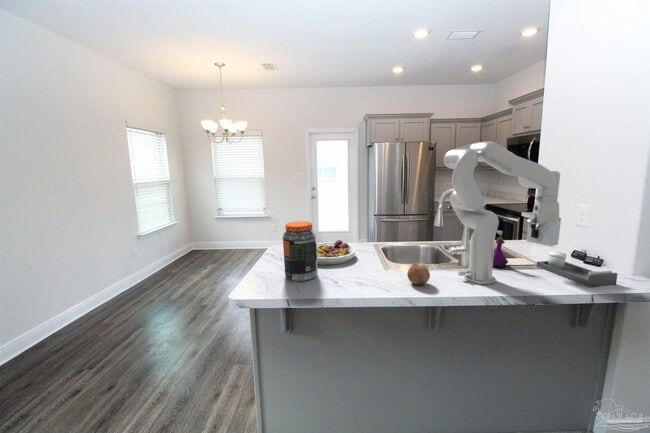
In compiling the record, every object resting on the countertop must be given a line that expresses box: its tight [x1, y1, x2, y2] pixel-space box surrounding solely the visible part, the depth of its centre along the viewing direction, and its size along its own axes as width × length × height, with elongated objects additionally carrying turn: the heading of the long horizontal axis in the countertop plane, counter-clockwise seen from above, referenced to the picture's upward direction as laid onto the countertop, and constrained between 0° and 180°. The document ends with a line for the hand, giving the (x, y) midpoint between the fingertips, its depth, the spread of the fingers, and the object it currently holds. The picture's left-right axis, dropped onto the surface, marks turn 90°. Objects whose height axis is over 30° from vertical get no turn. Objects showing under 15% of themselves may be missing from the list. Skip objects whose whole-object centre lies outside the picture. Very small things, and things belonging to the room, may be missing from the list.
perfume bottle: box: [493, 230, 509, 268], centre depth 150 cm, size 8×8×18 cm
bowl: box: [316, 239, 356, 266], centre depth 170 cm, size 30×30×8 cm
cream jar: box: [547, 250, 567, 270], centre depth 144 cm, size 7×7×7 cm
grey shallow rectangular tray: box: [535, 260, 618, 288], centre depth 136 cm, size 13×26×5 cm, turn 9°
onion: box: [406, 263, 431, 287], centre depth 130 cm, size 10×9×10 cm
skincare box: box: [525, 220, 562, 247], centre depth 135 cm, size 10×6×10 cm, turn 29°
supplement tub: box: [282, 220, 318, 282], centre depth 142 cm, size 16×16×26 cm
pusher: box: [587, 269, 613, 280], centre depth 125 cm, size 10×1×5 cm, turn 99°
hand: (542, 236), depth 136 cm, fingers closed on skincare box, 7 cm apart
